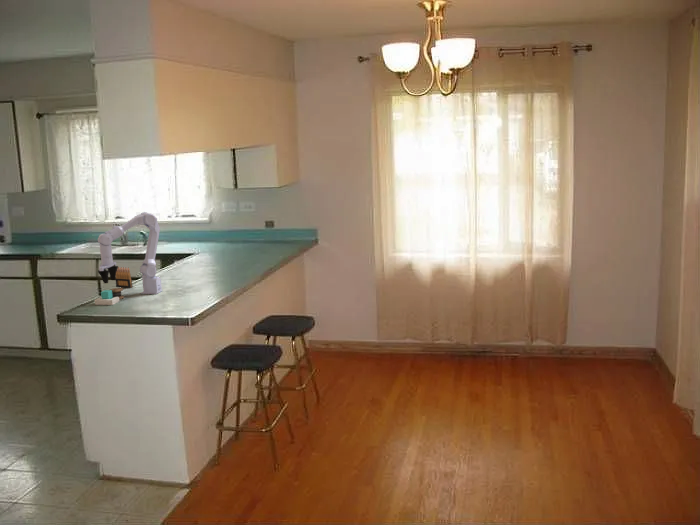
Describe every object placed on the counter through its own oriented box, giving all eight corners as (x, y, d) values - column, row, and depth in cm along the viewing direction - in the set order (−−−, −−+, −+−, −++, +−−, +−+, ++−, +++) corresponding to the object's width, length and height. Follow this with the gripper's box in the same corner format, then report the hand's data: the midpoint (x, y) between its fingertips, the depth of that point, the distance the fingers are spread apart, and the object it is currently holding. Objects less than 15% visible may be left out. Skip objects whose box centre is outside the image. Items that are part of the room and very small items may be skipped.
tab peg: (113, 301, 365) (111, 290, 364) (109, 303, 361) (107, 292, 360) (106, 301, 366) (104, 290, 365) (102, 303, 362) (100, 291, 361)
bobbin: (126, 296, 375) (125, 288, 374) (119, 299, 368) (118, 291, 367) (114, 296, 376) (113, 287, 375) (107, 299, 370) (106, 291, 369)
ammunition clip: (116, 287, 400) (113, 266, 397) (118, 286, 401) (116, 266, 399) (130, 288, 395) (128, 267, 393) (132, 287, 397) (130, 267, 394)
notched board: (119, 301, 365) (118, 296, 365) (112, 304, 358) (112, 300, 358) (102, 301, 367) (101, 296, 367) (95, 304, 360) (94, 300, 360)
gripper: (106, 253, 374) (109, 278, 376) (92, 259, 360) (95, 284, 362) (118, 253, 372) (121, 278, 375) (105, 259, 358) (108, 284, 361)
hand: (109, 281), depth 369 cm, fingers open, 7 cm apart
